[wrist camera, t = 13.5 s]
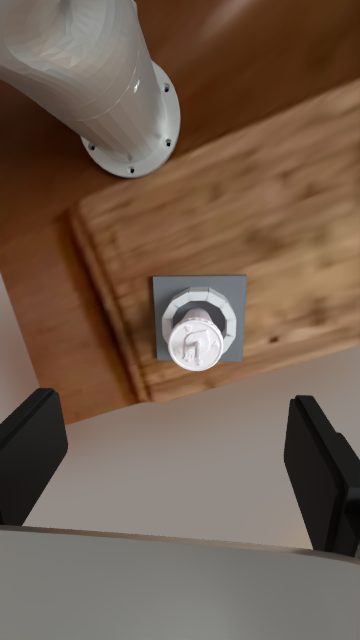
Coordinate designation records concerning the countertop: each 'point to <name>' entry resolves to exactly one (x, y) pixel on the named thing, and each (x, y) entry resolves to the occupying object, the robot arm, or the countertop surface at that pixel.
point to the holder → (209, 294)
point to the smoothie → (195, 341)
